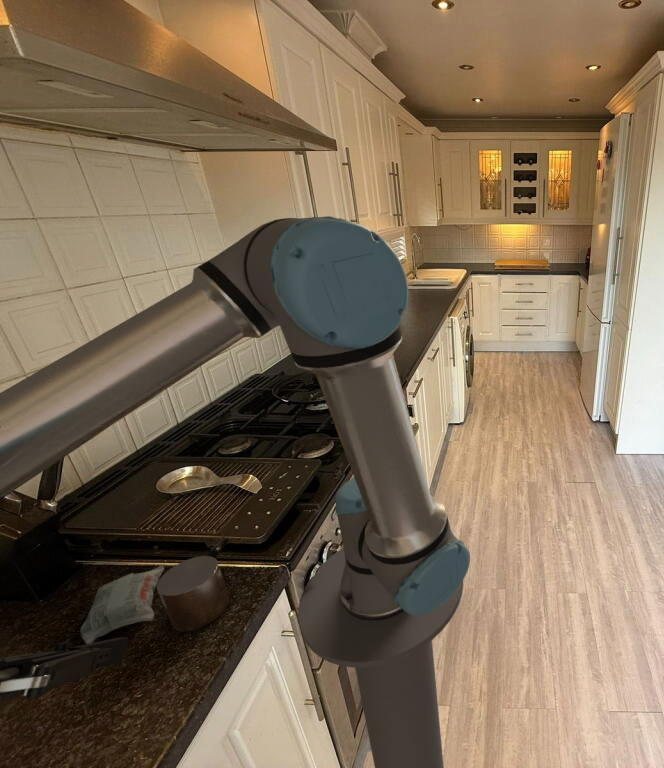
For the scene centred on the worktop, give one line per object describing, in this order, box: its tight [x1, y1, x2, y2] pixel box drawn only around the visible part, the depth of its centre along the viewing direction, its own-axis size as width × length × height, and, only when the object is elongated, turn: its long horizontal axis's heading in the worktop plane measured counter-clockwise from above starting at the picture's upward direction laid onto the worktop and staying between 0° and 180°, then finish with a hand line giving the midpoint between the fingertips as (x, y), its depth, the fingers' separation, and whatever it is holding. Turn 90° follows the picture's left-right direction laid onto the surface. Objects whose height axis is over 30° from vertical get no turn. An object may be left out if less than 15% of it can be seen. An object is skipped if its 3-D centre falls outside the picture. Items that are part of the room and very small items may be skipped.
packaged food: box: [80, 565, 165, 645], centre depth 68 cm, size 9×12×5 cm
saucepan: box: [156, 535, 230, 633], centre depth 71 cm, size 8×15×8 cm, turn 7°
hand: (119, 649), depth 54 cm, fingers closed
